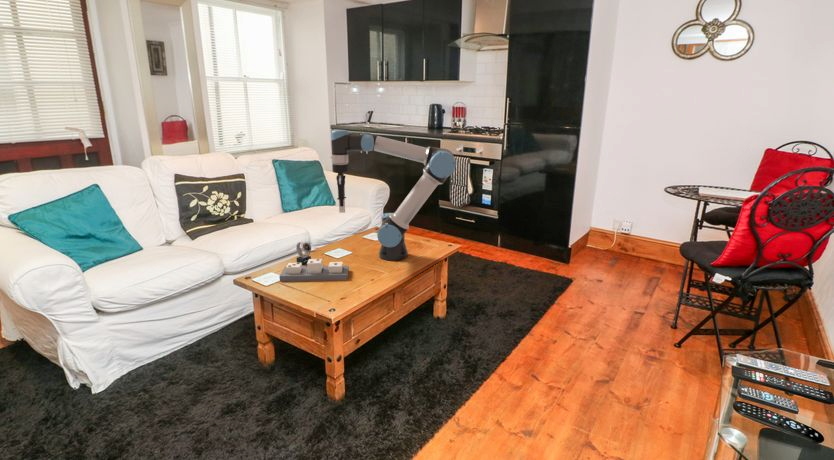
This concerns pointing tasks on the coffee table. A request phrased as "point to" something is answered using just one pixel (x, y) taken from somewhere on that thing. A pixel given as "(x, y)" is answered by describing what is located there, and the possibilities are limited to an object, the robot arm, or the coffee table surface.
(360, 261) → the coffee table surface
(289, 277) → the board
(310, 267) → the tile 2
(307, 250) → the watch
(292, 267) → the white die
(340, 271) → the white die
